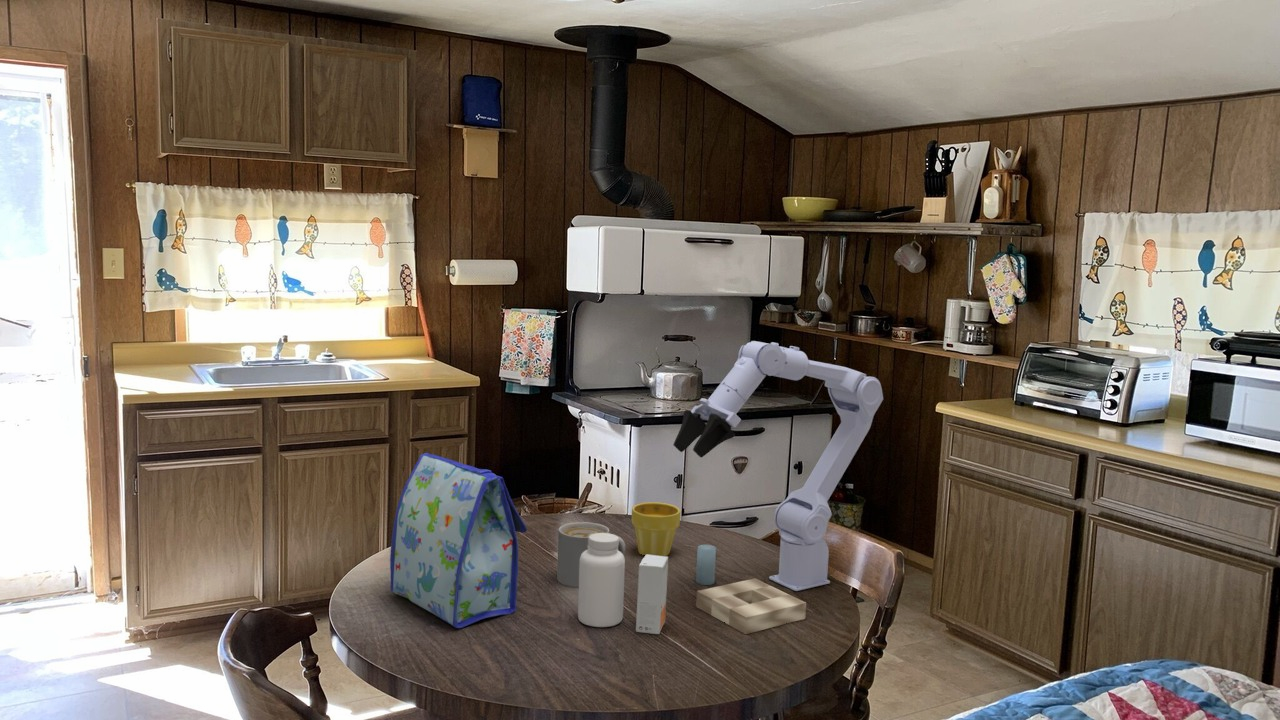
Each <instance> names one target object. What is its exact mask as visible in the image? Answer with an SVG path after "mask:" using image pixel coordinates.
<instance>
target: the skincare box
mask: <svg viewBox="0 0 1280 720" xmlns="http://www.w3.org/2000/svg"><path fill="white" fill-rule="evenodd" d="M668 569H669V556H656V555H648V554H646V555H645V556H644V557H643V558H642V559H641V562H640V563H639V565H638V575H637V576H638V579H637V599H636V600H637V601H636V602H637V603H636V616H635V617H636V618H635V619H636V621H635V632H637V633H643V634H652V635H660V633H661V631H662V628H663V626H664V625H665V622H666V613H667V612H666V611H667V609H666V608H667V590H668V589H667V587H668V571H669V570H668Z"/></svg>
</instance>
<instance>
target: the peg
mask: <svg viewBox="0 0 1280 720" xmlns="http://www.w3.org/2000/svg"><path fill="white" fill-rule="evenodd" d="M696 553H697V555H696V572H695V573H696V576H695V577H696V578H695V582H696V584H698V585H701V586H702V585H703V586H711V585H714V584H715V578H716V577H715V575H716V555H717V554H716V553H717V547H716V546H715V545H711V544H701V545H698V546H697V552H696Z"/></svg>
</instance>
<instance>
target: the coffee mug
mask: <svg viewBox="0 0 1280 720" xmlns="http://www.w3.org/2000/svg"><path fill="white" fill-rule="evenodd" d="M557 531H558V532H557V533H558V534H557V535H558V536H557V537H558V538H557V539H558V540H557V566H556V567H557V570H556V571H557V572H556V573H557V574H556V575H557V576H556V579H557V582H558V583H559V584H561V585H563V586H566V587H570V588H575V589H576V588H577V589H579V564H580V557H581V554H582V553H583V552H584V551H586V550H587V549H588V538H589V536H590V535H591V534H595V533H610V528H609V527H608V526H606V525H603V524H601V523H596V522H588V521H587V522H586V521H581V522H580V521H578V522H577V521H576V522H570V523H569V522H568V523H565V524H562V525H561V526H560V527H559V528H558V530H557ZM618 538H619V546H618V549H617V550H618V551H620V552H621V553H622V554H623V556H624V557H625V555H626V544H625V541H624V540H623V538H621V537H620V536H618Z"/></svg>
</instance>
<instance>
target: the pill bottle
mask: <svg viewBox="0 0 1280 720" xmlns="http://www.w3.org/2000/svg"><path fill="white" fill-rule="evenodd" d="M618 537H619V535H616V534H614V533H613V534H612V533H610V532H609V533H595V534H591V535H590V536H589V538H588V549H587V550H586V551H584V552H583V553H582V554H581V557H580V564H579V588H578V597H577V600H578V601H577V603H578V604H577V618H578V620H579V622H581V624H584V625H586V626H589V627H595V628H608V627H614V626H616V625H618V624H620V623H621V622H622V621H623V616H624V601H625V600H624V599H625V598H624V595H625V569H626V559H625V556H623V554H622V553H621V552H620V551H619V550H618V546H619V538H618Z"/></svg>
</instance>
